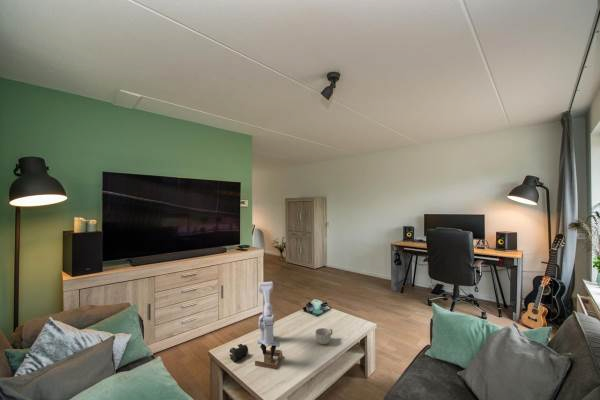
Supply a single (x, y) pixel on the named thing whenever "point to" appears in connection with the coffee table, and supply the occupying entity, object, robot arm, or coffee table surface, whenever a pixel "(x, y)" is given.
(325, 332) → the teacup
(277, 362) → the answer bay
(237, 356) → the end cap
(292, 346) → the coffee table surface
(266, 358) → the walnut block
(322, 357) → the coffee table surface
